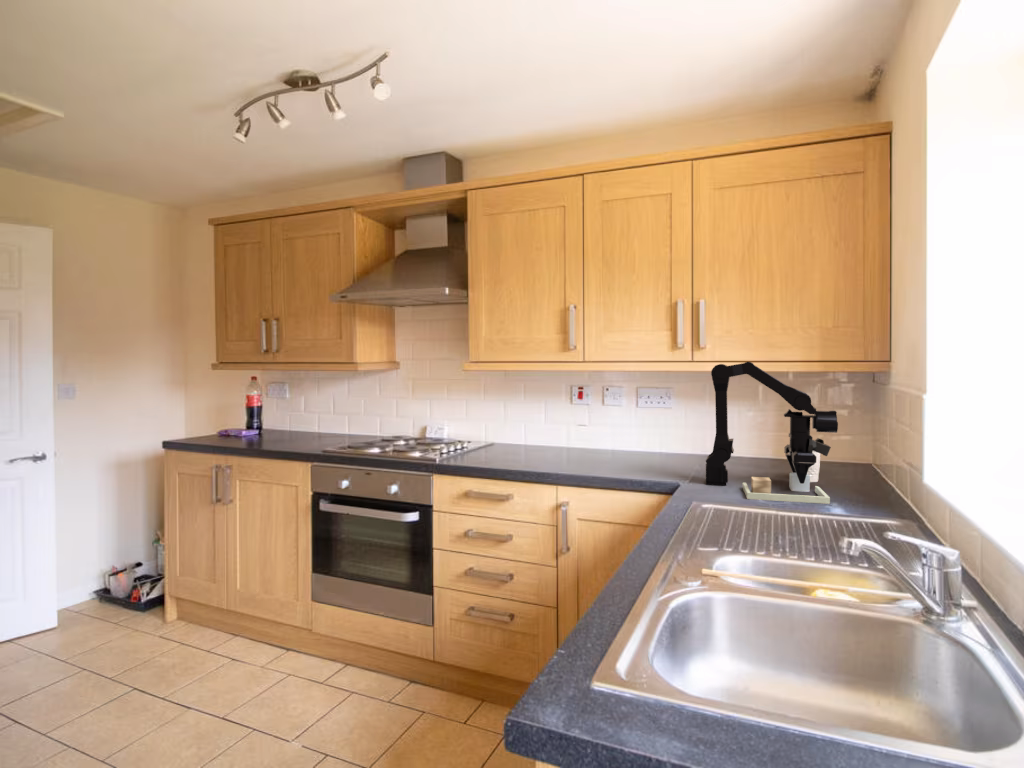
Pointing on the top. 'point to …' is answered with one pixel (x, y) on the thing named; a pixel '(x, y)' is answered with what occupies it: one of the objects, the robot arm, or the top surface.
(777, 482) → the top surface
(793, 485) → the blue block
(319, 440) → the top surface
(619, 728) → the top surface
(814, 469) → the white cup
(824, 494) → the tray
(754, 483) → the beech block
